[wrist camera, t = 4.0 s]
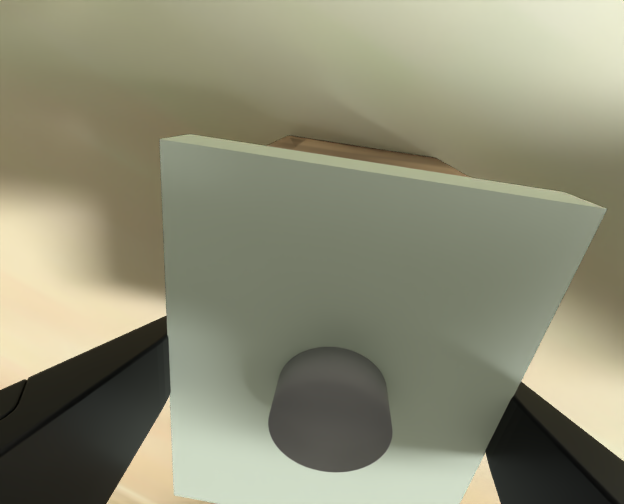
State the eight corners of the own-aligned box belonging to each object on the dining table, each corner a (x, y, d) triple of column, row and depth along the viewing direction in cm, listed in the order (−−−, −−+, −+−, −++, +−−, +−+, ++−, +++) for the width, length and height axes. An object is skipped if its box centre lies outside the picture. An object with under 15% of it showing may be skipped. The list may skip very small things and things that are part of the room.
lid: (537, 181, 7) (659, 229, 5) (422, 468, 11) (447, 595, 8) (208, 131, 8) (123, 144, 5) (204, 427, 12) (155, 536, 9)
